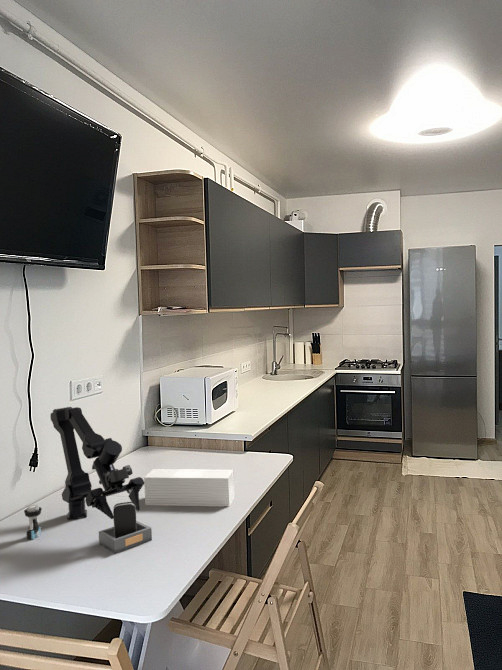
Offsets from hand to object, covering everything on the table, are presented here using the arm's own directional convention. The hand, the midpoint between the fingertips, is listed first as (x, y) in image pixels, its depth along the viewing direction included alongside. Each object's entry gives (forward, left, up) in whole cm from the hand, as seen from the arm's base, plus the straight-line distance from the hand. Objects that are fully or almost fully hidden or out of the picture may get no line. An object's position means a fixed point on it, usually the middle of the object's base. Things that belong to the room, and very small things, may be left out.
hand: (126, 514), depth 178 cm
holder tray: (-1, 0, -9) cm, 9 cm away
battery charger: (-1, 0, -8) cm, 9 cm away
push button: (-17, -28, -9) cm, 34 cm away
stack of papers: (-31, +26, -10) cm, 41 cm away
